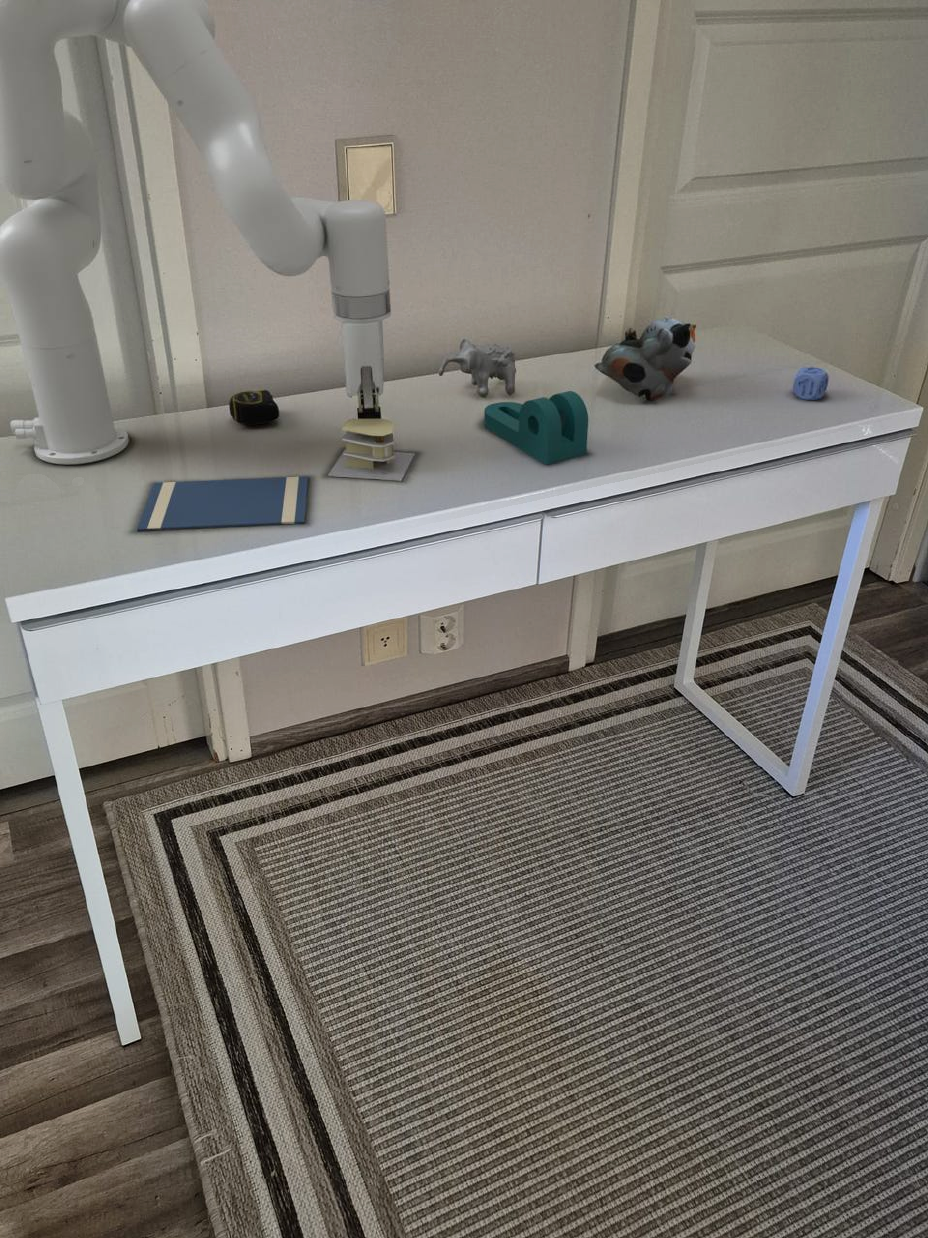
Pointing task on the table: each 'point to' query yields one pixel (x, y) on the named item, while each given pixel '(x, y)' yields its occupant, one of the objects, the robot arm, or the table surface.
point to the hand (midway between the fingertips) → (370, 436)
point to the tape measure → (253, 407)
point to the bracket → (542, 426)
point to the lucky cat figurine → (650, 358)
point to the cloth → (225, 503)
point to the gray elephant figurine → (485, 365)
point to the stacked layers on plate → (370, 452)
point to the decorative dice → (810, 383)
